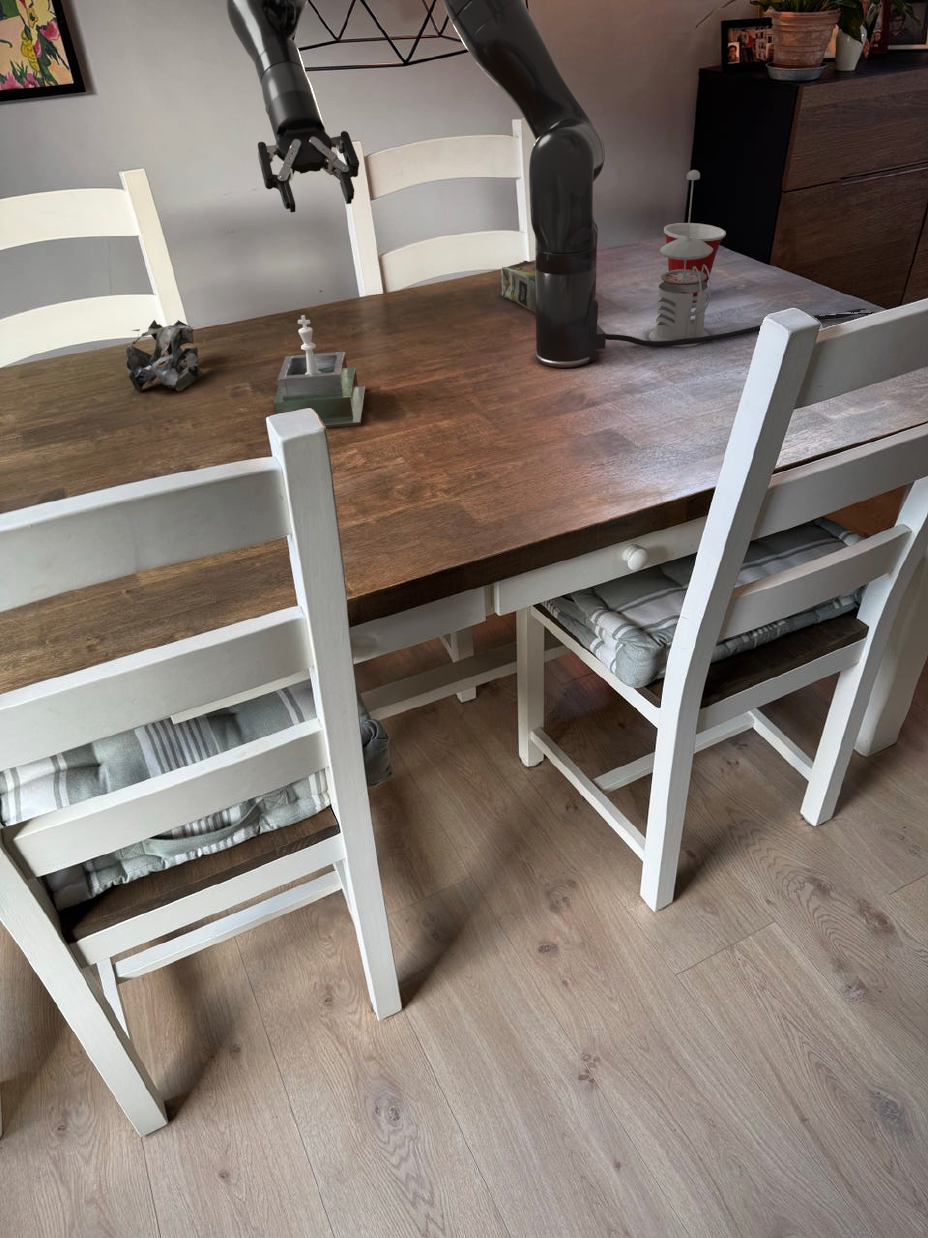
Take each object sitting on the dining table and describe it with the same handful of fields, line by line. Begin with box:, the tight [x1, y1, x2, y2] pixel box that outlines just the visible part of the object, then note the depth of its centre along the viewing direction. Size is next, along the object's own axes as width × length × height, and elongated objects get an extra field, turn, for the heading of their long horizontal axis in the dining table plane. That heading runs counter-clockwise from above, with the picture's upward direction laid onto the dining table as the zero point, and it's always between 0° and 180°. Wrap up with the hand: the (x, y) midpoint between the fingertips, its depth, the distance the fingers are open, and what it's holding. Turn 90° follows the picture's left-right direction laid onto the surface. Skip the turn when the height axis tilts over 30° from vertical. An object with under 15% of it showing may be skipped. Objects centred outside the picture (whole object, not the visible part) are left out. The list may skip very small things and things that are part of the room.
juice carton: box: [500, 259, 536, 314], centre depth 158 cm, size 20×10×6 cm, turn 27°
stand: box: [272, 351, 366, 429], centre depth 126 cm, size 13×13×7 cm
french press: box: [648, 169, 713, 348], centre depth 134 cm, size 10×12×25 cm
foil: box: [125, 319, 204, 393], centre depth 140 cm, size 12×11×15 cm
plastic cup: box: [663, 222, 727, 303], centre depth 154 cm, size 11×11×12 cm
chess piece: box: [297, 314, 321, 374], centre depth 123 cm, size 5×5×10 cm
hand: (321, 204), depth 126 cm, fingers open, 8 cm apart
